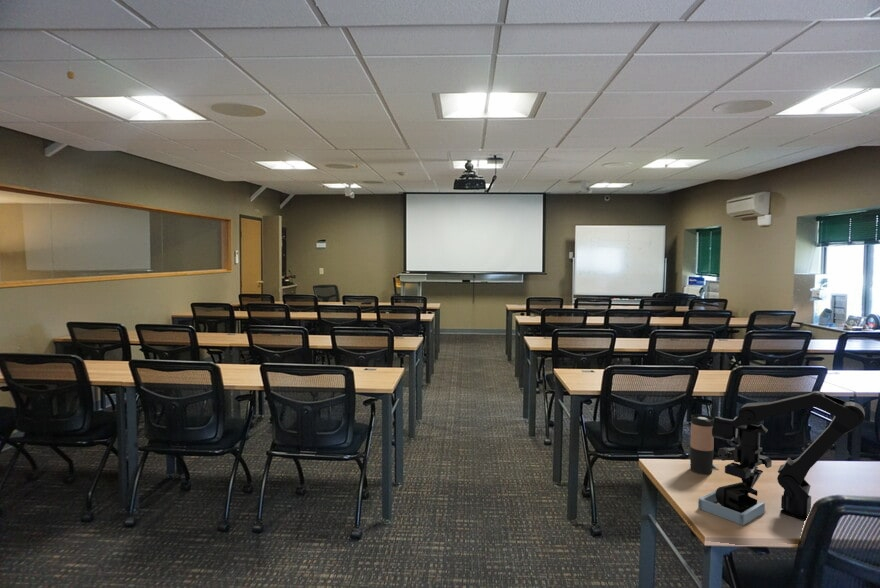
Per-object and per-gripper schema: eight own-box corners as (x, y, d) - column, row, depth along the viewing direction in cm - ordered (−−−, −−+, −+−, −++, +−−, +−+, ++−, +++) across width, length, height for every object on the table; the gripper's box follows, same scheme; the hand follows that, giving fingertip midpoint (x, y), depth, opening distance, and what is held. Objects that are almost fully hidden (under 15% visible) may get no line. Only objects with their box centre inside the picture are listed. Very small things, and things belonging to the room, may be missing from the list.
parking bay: (764, 512, 153) (764, 502, 153) (743, 525, 145) (743, 515, 145) (720, 496, 164) (720, 487, 164) (698, 508, 156) (698, 498, 156)
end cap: (736, 499, 162) (737, 478, 162) (757, 509, 155) (758, 487, 155) (714, 505, 158) (715, 483, 158) (735, 515, 151) (736, 493, 151)
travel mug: (692, 465, 191) (693, 413, 190) (714, 470, 186) (716, 416, 186) (687, 471, 185) (688, 417, 184) (710, 476, 180) (711, 421, 180)
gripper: (736, 431, 172) (735, 476, 173) (708, 442, 161) (707, 489, 162) (773, 440, 163) (771, 488, 163) (745, 452, 152) (743, 503, 153)
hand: (747, 491), depth 161 cm, fingers closed
